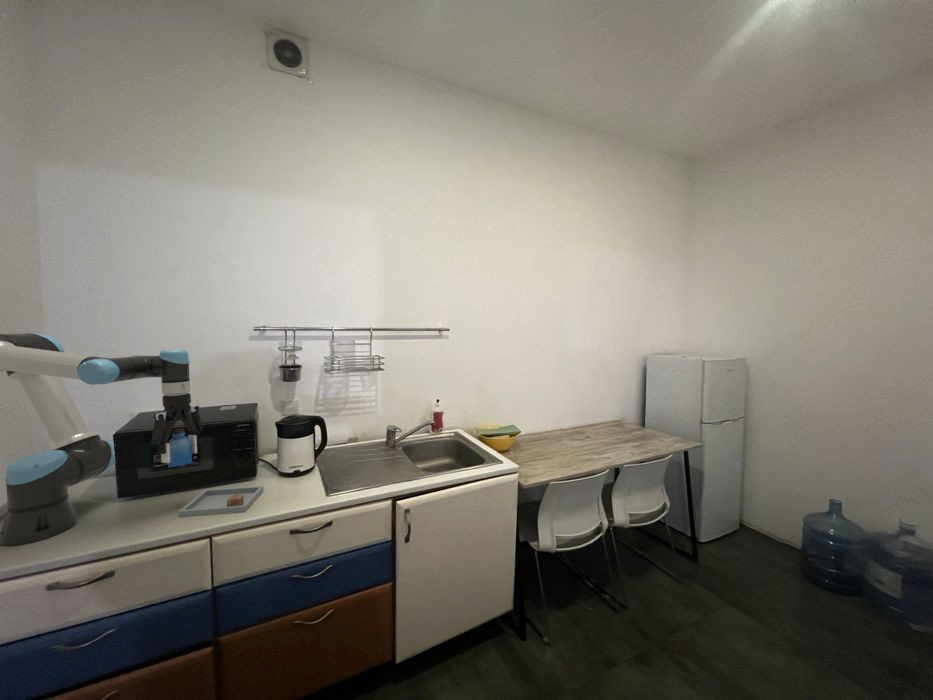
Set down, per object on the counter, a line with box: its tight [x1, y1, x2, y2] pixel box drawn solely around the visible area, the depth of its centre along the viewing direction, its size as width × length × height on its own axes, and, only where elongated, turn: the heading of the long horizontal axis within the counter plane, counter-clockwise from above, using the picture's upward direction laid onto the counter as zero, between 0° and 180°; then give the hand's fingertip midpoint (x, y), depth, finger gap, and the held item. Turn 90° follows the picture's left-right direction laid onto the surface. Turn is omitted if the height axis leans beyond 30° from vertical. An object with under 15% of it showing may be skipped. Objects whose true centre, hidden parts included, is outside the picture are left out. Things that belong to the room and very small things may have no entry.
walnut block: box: [227, 494, 243, 507], centre depth 119 cm, size 4×4×4 cm
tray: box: [178, 485, 264, 518], centre depth 123 cm, size 20×16×2 cm
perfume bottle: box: [167, 427, 193, 469], centre depth 119 cm, size 6×6×12 cm
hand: (180, 457), depth 120 cm, fingers closed on perfume bottle, 9 cm apart
